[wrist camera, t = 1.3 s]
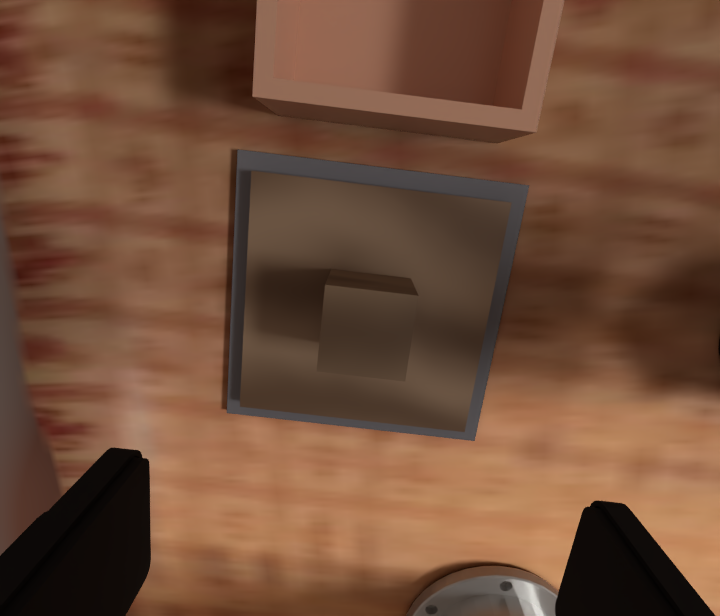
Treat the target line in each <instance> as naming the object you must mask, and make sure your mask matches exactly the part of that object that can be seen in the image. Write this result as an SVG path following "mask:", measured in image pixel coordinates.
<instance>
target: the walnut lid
mask: <svg viewBox="0 0 720 616" xmlns="http://www.w3.org/2000/svg"><path fill="white" fill-rule="evenodd" d="M511 204H512V203H511V202H504V201H496V200H487V199H479V198H471V197H463V196H455V195H447V194H439V193H430V192H422V191H414V190H406V189H398V188H390V187H382V186H373V185H365V184H357V183H349V182H341V181H333V180H324V179H316V178H308V177H300V176H292V175H284V174H276V173H267V172H259V171H251V190H250V210H249V230H248V250H247V270H246V291H245V311H244V331H243V351H242V371H241V391H240V407H246V408H255V409H264V410H273V411H282V412H290V413H299V414H308V415H317V416H326V417H335V418H343V419H352V420H361V421H370V422H379V423H388V424H397V425H405V426H414V427H423V428H432V429H441V430H450V431H458V432H465V428H466V423H467V418H468V413H469V408H470V403H471V398H472V394H473V389H474V384H475V379H476V374H477V369H478V364H479V360H480V355H481V350H482V345H483V340H484V335H485V330H486V325H487V321H488V316H489V311H490V306H491V301H492V296H493V291H494V287H495V282H496V277H497V272H498V267H499V262H500V257H501V252H502V248H503V243H504V238H505V233H506V228H507V223H508V218H509V214H510V209H511Z"/></svg>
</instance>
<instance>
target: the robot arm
mask: <svg viewBox="0 0 720 616" xmlns="http://www.w3.org/2000/svg"><path fill="white" fill-rule="evenodd" d="M150 561H151V547H150V475H149V461H148V459H146V458H142V454H141V452H140V451H138V450H130V449H121V448H110V449H108V450H107V451H106V452H105V453H104V454H103V455H102V456H101V457H100V458H99V459H98V460H97V461H96V462H95V463H94V464H93V465H92V466H91V467H90V468H89V469H88V470H87V471H86V473H85V474H84V475H83V476H82V477H81V478H80V479H79V480H78V481H77V482H76V483H75V484H74V485H73V486H72V487H71V488H70V489H69V490H68V491H67V492H66V493H65V494H64V495H63V496H62V497H61V498H60V499H59V500H58V501H57V502H56V503H55V504H54V505H53V507H52V508H51V509H50V510H49V511H47V512H45V513H43V514H42V515H41V516H39V517H38V518H37V519H36V520H35V521H34V522H33V523H32V524H31V525H30V526H29V527H28V528H27V529H26V530H25V531H24V532H23V533H22V534H21V535H20V536H19V537H18V538H17V539H16V540H15V541H14V542H13V543H12V544H11V545H10V547H9V548H7V549H6V550H5V552H4V553H3V554H2V555H1V556H0V616H125V615H126V613H127V612H128V610H129V608H130V606H131V604H132V603H133V601H134V599H135V597H136V596H137V594H138V592H139V590H140V588H141V587H142V585H143V583H144V581H145V579H146V577H147V574H148V571H149V568H150ZM406 616H715V615H714V613H713V612H712V611H711V610H710V608H709V607H708V606H707V605H706V603H705V602H704V601H703V600H702V598H701V597H700V596H699V595H698V593H697V592H696V591H695V590H694V588H693V587H692V586H691V585H690V584H689V582H688V581H687V580H686V579H685V577H684V576H683V575H682V574H681V572H680V571H679V570H678V569H677V567H676V566H675V565H674V564H673V562H672V561H671V560H670V559H669V557H668V556H667V555H666V554H665V552H664V551H663V550H662V549H661V547H660V546H659V545H658V544H657V542H656V541H655V540H654V539H653V537H652V536H651V535H650V534H649V532H648V531H647V530H646V529H645V527H644V526H643V525H642V524H641V522H640V521H639V520H638V519H637V517H636V516H635V515H634V514H633V512H632V511H631V510H630V509H629V508H628V507H627V506H626V505H625V504H622V503H615V502H606V501H594V502H593V503H592V504H591V506H590V507H586V508H584V510H583V512H582V515H581V519H580V522H579V525H578V529H577V532H576V535H575V539H574V542H573V545H572V549H571V552H570V556H569V559H568V562H567V566H566V569H565V572H564V576H563V579H562V582H561V586H560V589H559V592H558V590H557V589H555V588H554V587H553V586H552V585H551V584H549V583H548V582H547V581H546V580H544V579H542V578H540V577H538V576H536V575H534V574H532V573H530V572H527V571H523V570H520V569H517V568H511V567H504V566H480V567H474V568H468V569H464V570H461V571H458V572H455V573H452V574H449V575H447V576H445V577H443V578H442V579H440V580H438V581H436V582H434V583H433V584H432V585H430V586H429V587H428V588H426V589H425V590H424V591H423V592H422V593H421V594H420V595H419V596H418V597H417V599H416V600H415V601H414V602H413V604H412V606H411V607H410V609H409V611H408V612H407V615H406Z"/></svg>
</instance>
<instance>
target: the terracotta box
mask: <svg viewBox="0 0 720 616" xmlns="http://www.w3.org/2000/svg"><path fill="white" fill-rule="evenodd" d="M563 4H564V0H257V12H256V32H255V53H254V74H253V95H252V97H254V98H255V99H256V100H258V101H259V102H261V103H262V104H263V105H265V106H266V107H267V108H269V109H270V110H271V111H273V112H274V113H276V114H277V115H278V116H285V117H293V118H301V119H309V120H317V121H325V122H333V123H341V124H349V125H357V126H365V127H373V128H381V129H389V130H397V131H405V132H413V133H421V134H428V135H436V136H444V137H452V138H460V139H468V140H476V141H484V142H492V143H501V142H504V141H508V140H511V139H515V138H518V137H522V136H525V135H529V134H532V133H536V132H537V127H538V122H539V118H540V113H541V108H542V104H543V99H544V94H545V89H546V85H547V80H548V75H549V70H550V66H551V61H552V56H553V52H554V47H555V42H556V37H557V33H558V28H559V23H560V19H561V14H562V9H563Z"/></svg>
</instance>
